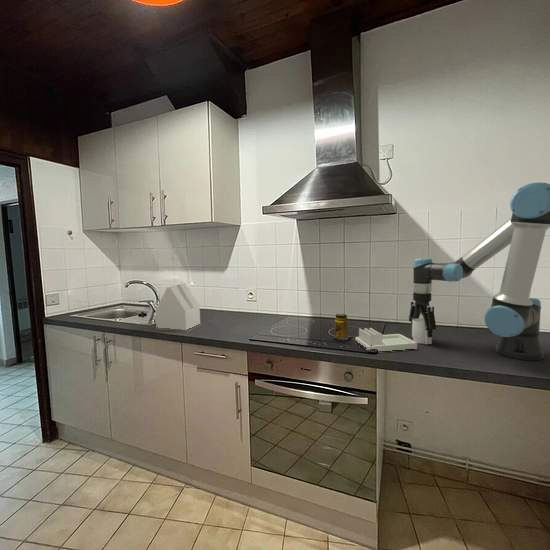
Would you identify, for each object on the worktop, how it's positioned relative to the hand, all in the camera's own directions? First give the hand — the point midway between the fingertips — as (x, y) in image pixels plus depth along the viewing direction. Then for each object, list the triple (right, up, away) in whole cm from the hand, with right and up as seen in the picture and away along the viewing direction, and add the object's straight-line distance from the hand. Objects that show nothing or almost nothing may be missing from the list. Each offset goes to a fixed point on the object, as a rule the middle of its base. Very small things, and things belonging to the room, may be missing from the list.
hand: (421, 340), depth 142 cm
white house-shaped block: (-124, -1, +39) cm, 130 cm away
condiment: (-35, -1, +8) cm, 35 cm away
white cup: (0, -1, 0) cm, 1 cm away
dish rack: (-18, -2, -5) cm, 19 cm away
